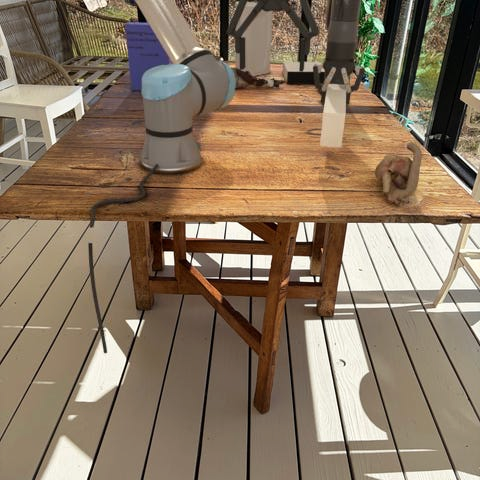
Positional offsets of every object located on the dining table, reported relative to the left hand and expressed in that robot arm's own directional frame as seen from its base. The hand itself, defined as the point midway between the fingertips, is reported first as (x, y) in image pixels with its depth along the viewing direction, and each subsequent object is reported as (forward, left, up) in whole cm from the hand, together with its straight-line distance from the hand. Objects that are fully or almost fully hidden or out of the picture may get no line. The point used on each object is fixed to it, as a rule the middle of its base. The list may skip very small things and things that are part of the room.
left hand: (271, 69), depth 108 cm
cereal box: (+69, +55, -24) cm, 92 cm away
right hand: (+22, -15, -13) cm, 30 cm away
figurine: (+81, +20, -24) cm, 87 cm away
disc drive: (+104, -1, -24) cm, 107 cm away
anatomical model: (-8, -30, -24) cm, 39 cm away
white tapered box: (+111, +22, -24) cm, 116 cm away
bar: (+12, -15, -17) cm, 25 cm away
